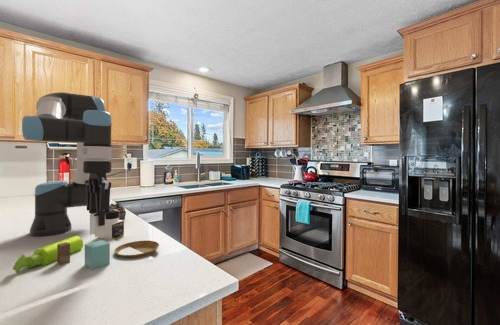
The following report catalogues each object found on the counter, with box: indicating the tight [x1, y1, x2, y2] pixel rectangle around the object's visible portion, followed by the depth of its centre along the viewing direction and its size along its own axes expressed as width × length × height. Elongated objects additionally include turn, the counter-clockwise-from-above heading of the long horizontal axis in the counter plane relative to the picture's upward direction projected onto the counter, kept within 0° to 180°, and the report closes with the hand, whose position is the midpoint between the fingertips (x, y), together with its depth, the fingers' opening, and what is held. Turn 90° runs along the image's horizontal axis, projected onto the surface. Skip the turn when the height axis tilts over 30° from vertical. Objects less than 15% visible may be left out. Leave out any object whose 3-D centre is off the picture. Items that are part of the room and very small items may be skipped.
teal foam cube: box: [84, 239, 111, 270], centre depth 77 cm, size 5×5×7 cm
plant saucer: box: [114, 240, 160, 259], centre depth 89 cm, size 15×15×3 cm
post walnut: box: [56, 242, 71, 266], centre depth 78 cm, size 3×3×7 cm
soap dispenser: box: [12, 235, 84, 273], centre depth 80 cm, size 6×7×20 cm
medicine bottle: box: [97, 210, 125, 241], centre depth 106 cm, size 7×7×12 cm
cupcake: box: [109, 202, 127, 221], centre depth 133 cm, size 10×10×10 cm
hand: (97, 234), depth 77 cm, fingers open, 3 cm apart
